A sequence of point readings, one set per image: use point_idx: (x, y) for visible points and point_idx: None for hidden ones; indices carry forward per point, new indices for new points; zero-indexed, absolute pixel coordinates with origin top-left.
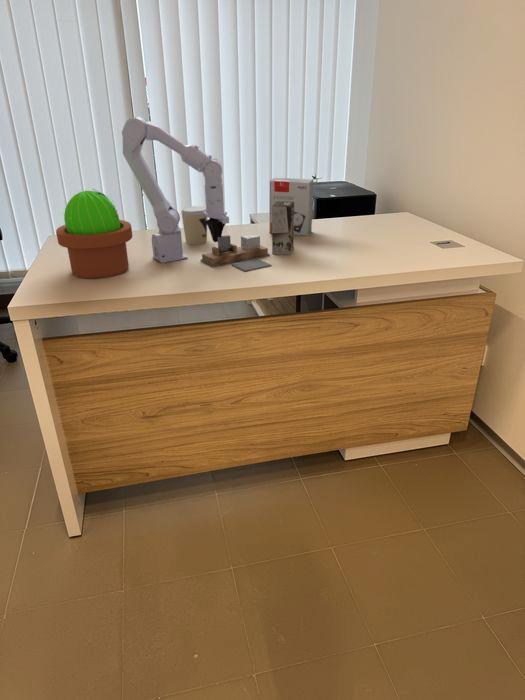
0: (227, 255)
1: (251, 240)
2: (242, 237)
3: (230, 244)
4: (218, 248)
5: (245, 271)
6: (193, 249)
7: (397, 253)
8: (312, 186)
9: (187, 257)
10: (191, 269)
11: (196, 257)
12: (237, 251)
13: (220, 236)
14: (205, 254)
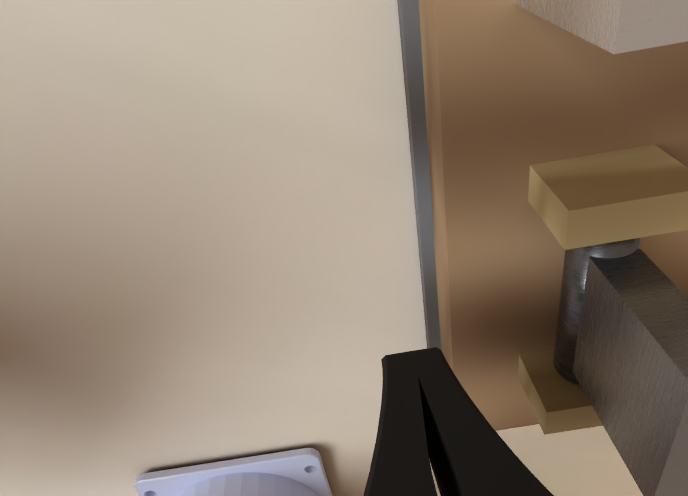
0: (680, 279)
1: None
2: (680, 35)
3: (664, 275)
4: (582, 374)
5: None
6: (36, 372)
7: None
8: None
9: (316, 453)
10: (568, 458)
11: (311, 395)
12: (635, 128)
13: (668, 482)
14: (497, 420)
